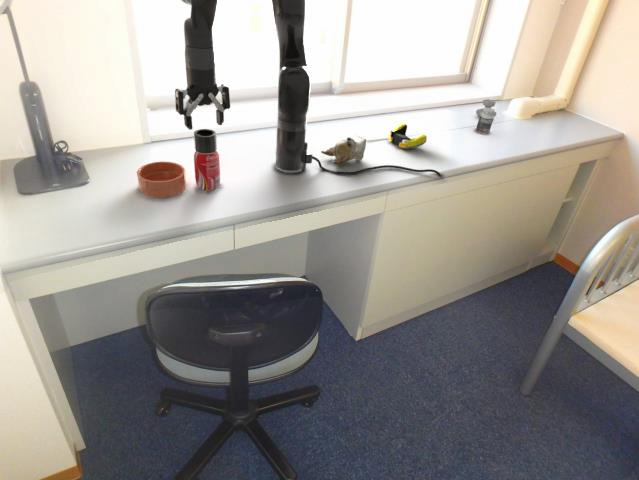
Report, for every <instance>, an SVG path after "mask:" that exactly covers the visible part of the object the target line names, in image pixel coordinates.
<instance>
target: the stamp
mask: <svg viewBox="0 0 639 480" xmlns="http://www.w3.org/2000/svg"><path fill="white" fill-rule="evenodd" d="M482 104H483V106H484V108H492V107H495V106H496V101H495V100H493V99H492V100H491V99H489V98H487V99H483V100H482ZM484 108H478V109H477V110H476V111H475V114H476V115H477V117H478V119H479V118H480V115H481V113H483V109H484ZM493 115H494V118H495V117H496V116H497V112H496V111H495V112H494V114H493Z"/></svg>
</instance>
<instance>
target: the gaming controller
mask: <svg viewBox="0 0 639 480" xmlns="http://www.w3.org/2000/svg"><path fill="white" fill-rule="evenodd" d="M407 131H408V125H407V124H405V123H401V124H399V125H398V126H397V127H395V128H394V130H390V131H388V140H389V142H390V143H392V144H394V145H395V146H397V147H398V148H401V149H405V150H406V149H407V150H409V149H415V148H419V147H421V146H423V145H424V144H425V143H426V142H427V139H428V137H427V135H425V134H422V135H421V134H420V135H419V136H417V137H414V138H410V137H409V136H407V134H406V133H407Z"/></svg>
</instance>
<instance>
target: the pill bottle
mask: <svg viewBox="0 0 639 480" xmlns="http://www.w3.org/2000/svg"><path fill="white" fill-rule="evenodd" d="M482 109H483V113H481V115H480V118H479V117H478V121H477V125H476V127H475V132H477V133H478V134H481V135H482V134H483V135H488V134H490V131H491V128H492V125H493V122H494V119H495V117H494V115H493V114H494V112H496V111H495V109H494V108H492V107H491V108H485V107H483V108H482Z"/></svg>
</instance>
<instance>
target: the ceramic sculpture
mask: <svg viewBox="0 0 639 480" xmlns="http://www.w3.org/2000/svg"><path fill="white" fill-rule="evenodd" d="M366 146H367V138H363V139H357V140H355V139H354V138H352V137H347V138H346V139H342V140H339V141H337V142H336V143H335V145H334V146H332V147H330V148H329V149H326V150H322V151H321V150H320V153H321V154H322V155H325V156H328V157H335V158H334V161H333V162H332V164H334V165H339V166H341V165H345V164H346V163H347V162H351V161H353V160H358V161H362V160H364V159H363V158H364V156H365V150H366Z"/></svg>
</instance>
